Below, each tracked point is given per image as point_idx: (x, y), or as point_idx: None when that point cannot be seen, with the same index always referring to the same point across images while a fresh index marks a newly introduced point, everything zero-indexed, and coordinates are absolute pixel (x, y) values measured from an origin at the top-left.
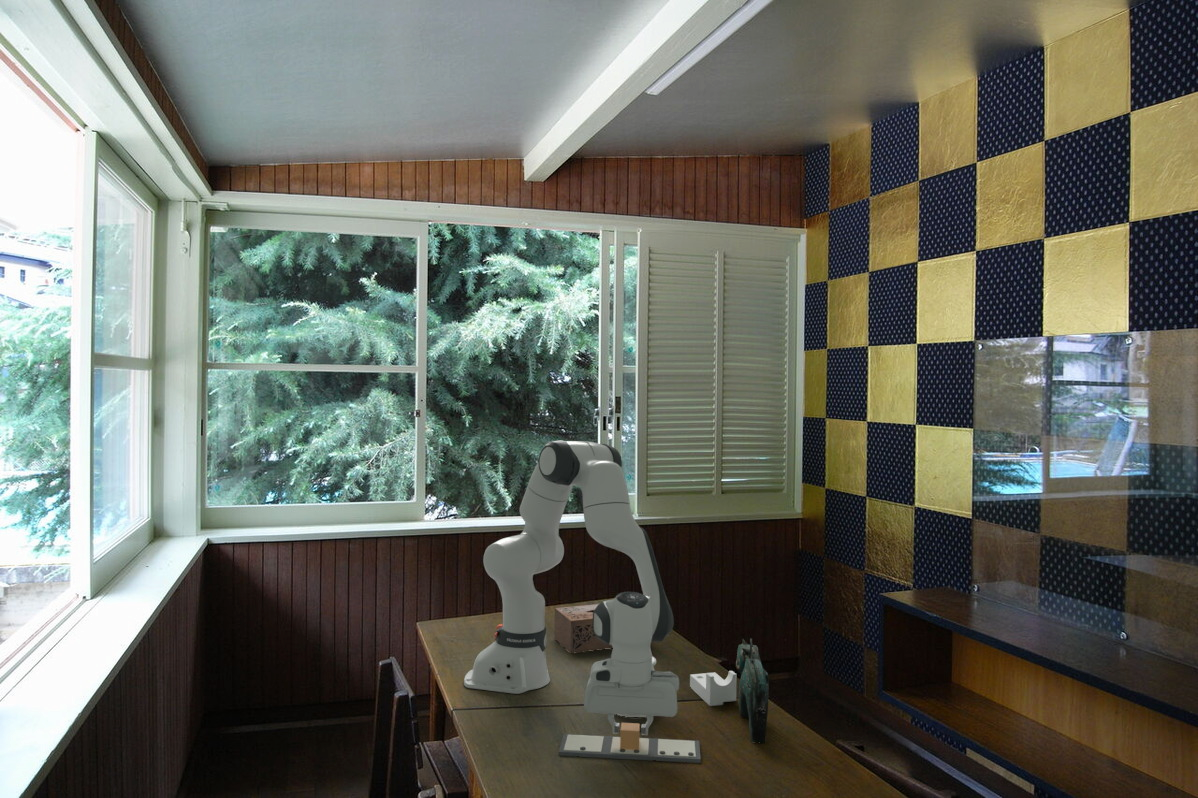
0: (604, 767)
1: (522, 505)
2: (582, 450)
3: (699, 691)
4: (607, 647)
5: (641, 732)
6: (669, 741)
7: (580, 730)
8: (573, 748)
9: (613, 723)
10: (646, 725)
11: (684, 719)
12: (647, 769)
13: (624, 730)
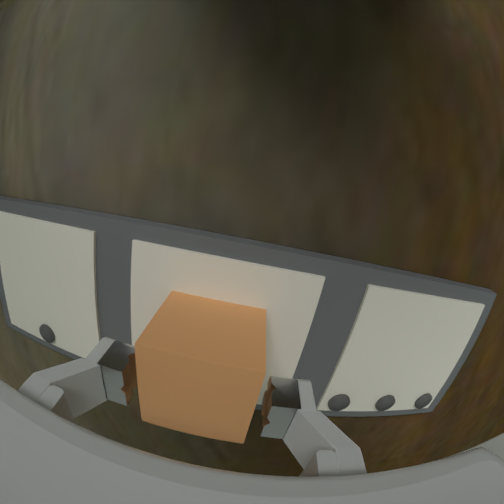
0: (133, 411)
1: None
2: None
3: None
4: None
5: (262, 413)
6: (408, 312)
7: (36, 125)
8: (27, 323)
9: (91, 405)
10: (291, 450)
11: (491, 60)
12: (262, 439)
13: (162, 426)
